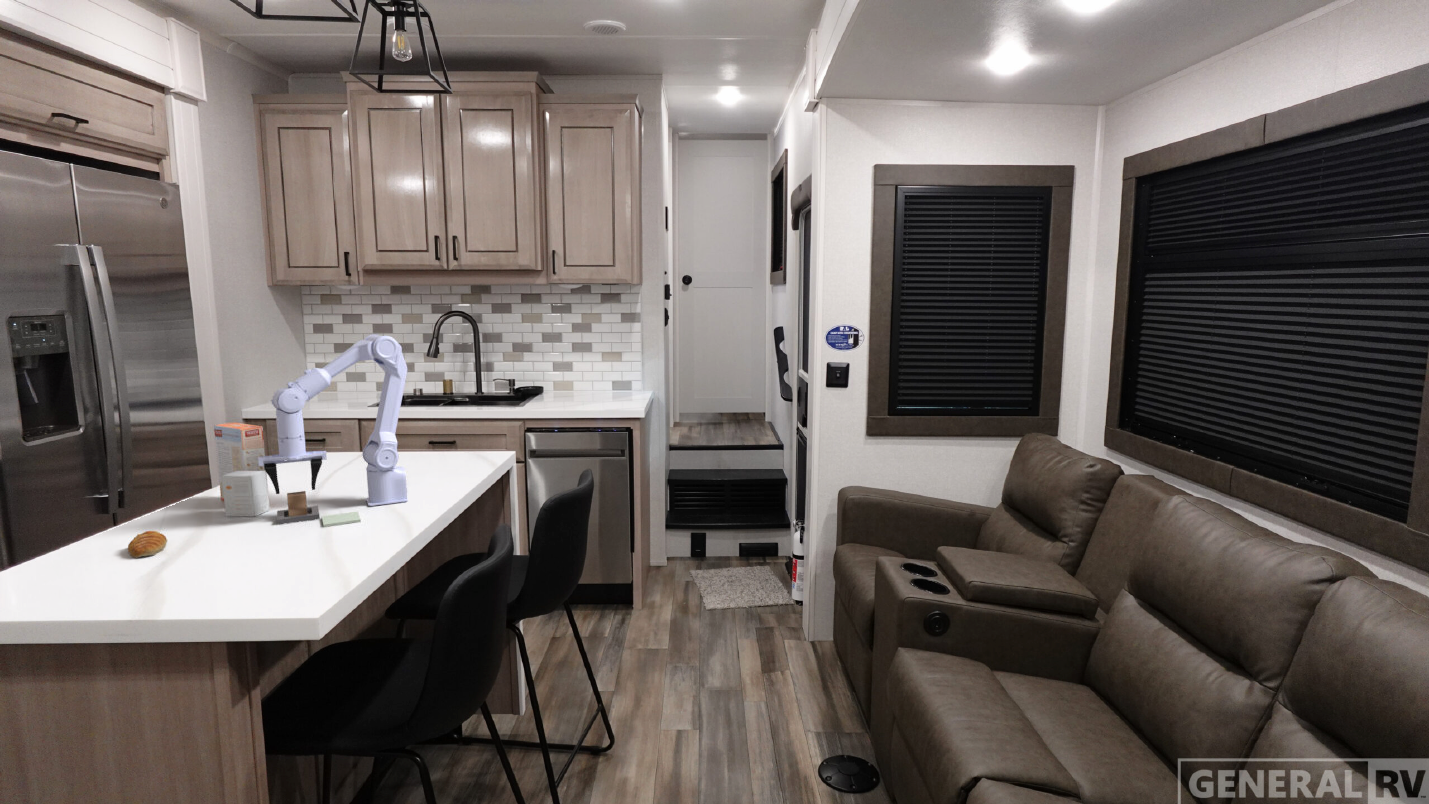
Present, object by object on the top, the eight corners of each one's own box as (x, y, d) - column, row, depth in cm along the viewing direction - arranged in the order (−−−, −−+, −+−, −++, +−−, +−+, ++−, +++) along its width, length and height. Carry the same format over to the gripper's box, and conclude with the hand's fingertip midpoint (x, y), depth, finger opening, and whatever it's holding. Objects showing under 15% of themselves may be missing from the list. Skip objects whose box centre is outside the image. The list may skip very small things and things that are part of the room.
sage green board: (357, 513, 188) (357, 511, 188) (360, 521, 181) (360, 519, 181) (322, 518, 184) (321, 516, 184) (323, 527, 177) (323, 524, 177)
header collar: (318, 509, 191) (317, 505, 191) (319, 518, 184) (319, 514, 184) (277, 515, 187) (277, 510, 187) (277, 524, 179) (277, 519, 179)
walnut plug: (307, 514, 188) (305, 490, 187) (307, 518, 185) (305, 494, 184) (289, 516, 186) (287, 493, 185) (289, 520, 183) (287, 496, 182)
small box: (270, 510, 191) (266, 470, 190) (255, 517, 186) (251, 475, 184) (241, 510, 192) (237, 470, 191) (225, 516, 187) (220, 475, 185)
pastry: (165, 556, 159) (162, 538, 158) (124, 562, 155) (122, 544, 155) (168, 543, 167) (166, 527, 166) (130, 549, 163) (128, 532, 162)
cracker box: (271, 503, 198) (263, 425, 195) (246, 508, 193) (239, 429, 190) (244, 495, 206) (236, 421, 203) (220, 501, 201) (212, 424, 198)
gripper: (256, 442, 175) (261, 498, 177) (325, 436, 183) (329, 490, 184) (256, 437, 182) (261, 492, 183) (324, 432, 189) (328, 484, 191)
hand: (295, 491), depth 184 cm, fingers open, 7 cm apart
